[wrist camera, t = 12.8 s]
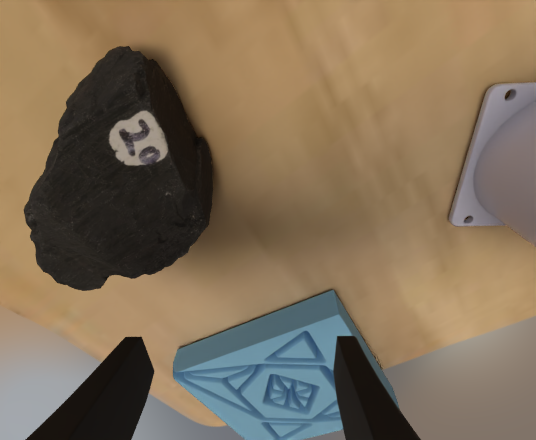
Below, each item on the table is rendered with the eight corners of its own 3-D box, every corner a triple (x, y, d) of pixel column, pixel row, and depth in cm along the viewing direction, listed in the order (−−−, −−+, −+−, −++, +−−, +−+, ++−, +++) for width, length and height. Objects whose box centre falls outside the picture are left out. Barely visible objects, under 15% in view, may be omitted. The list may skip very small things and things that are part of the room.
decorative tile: (332, 287, 22) (338, 312, 19) (393, 387, 27) (403, 415, 25) (177, 348, 25) (168, 375, 23) (259, 425, 31) (258, 452, 29)
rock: (165, 36, 14) (99, 27, 9) (237, 215, 19) (221, 277, 14) (14, 94, 16) (-115, 114, 11) (116, 246, 20) (61, 311, 15)
